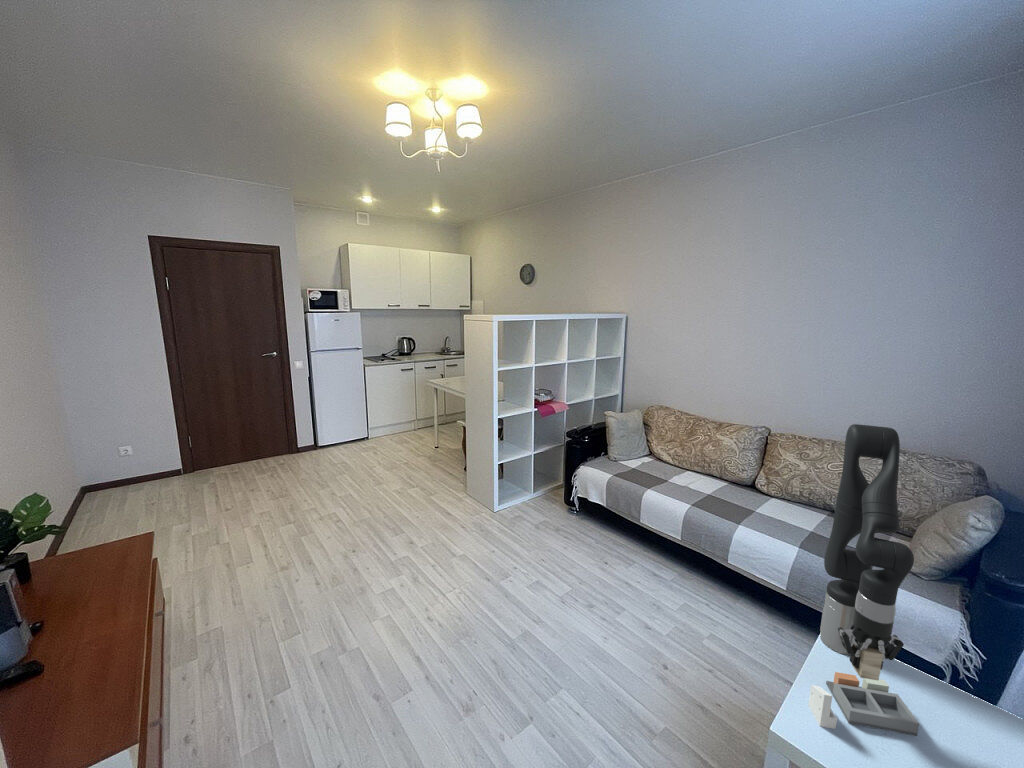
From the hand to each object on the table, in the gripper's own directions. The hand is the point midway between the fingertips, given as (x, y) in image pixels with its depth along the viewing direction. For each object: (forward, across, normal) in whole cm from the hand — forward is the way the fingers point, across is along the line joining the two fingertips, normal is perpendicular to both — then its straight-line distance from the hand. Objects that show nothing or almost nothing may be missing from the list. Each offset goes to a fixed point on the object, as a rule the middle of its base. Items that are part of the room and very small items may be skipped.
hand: (864, 667), depth 105 cm
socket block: (+14, -4, -2) cm, 15 cm away
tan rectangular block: (+1, 0, 0) cm, 1 cm away
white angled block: (+15, +10, +3) cm, 18 cm away
